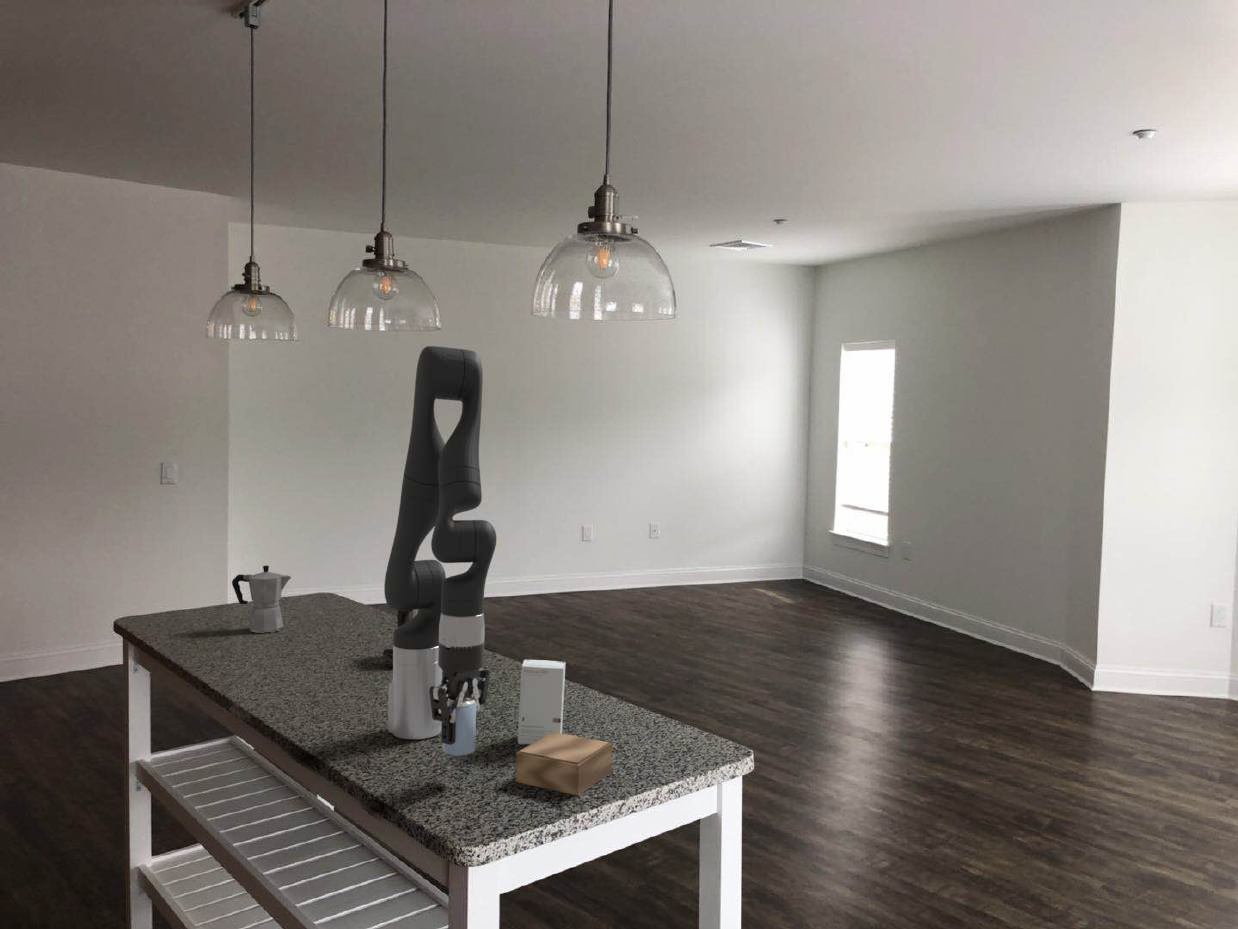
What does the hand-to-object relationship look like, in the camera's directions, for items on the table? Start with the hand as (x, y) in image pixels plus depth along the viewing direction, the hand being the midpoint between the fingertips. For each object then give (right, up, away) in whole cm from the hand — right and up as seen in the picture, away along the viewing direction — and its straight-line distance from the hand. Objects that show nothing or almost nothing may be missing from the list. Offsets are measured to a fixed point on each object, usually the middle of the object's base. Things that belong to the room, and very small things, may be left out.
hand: (459, 737), depth 165 cm
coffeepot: (-72, 0, +106) cm, 128 cm away
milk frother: (-23, -3, +76) cm, 80 cm away
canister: (0, -2, 0) cm, 2 cm away
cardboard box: (+17, -8, +3) cm, 19 cm away
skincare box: (+12, -7, +21) cm, 25 cm away
